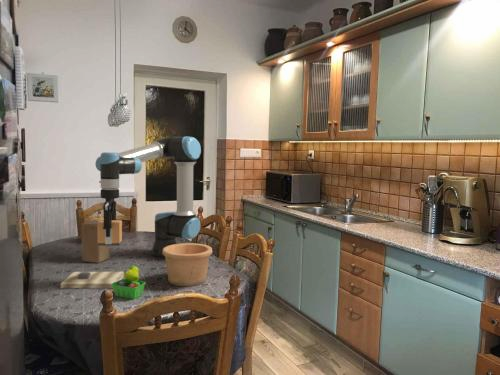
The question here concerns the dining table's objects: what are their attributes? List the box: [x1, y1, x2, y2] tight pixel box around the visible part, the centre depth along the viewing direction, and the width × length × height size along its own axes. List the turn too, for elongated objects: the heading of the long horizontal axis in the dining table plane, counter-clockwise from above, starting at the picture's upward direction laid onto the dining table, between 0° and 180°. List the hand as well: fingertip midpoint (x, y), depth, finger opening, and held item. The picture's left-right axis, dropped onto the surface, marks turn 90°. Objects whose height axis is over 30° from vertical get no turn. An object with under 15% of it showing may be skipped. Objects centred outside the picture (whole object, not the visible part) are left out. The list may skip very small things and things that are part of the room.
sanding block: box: [97, 219, 123, 247], centre depth 171 cm, size 9×5×10 cm, turn 96°
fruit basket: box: [112, 264, 147, 300], centre depth 158 cm, size 11×9×11 cm
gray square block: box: [78, 271, 91, 279], centre depth 172 cm, size 4×4×2 cm
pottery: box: [162, 242, 213, 287], centre depth 178 cm, size 22×22×14 cm
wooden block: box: [81, 220, 110, 264], centre depth 204 cm, size 10×10×20 cm
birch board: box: [60, 271, 125, 289], centre depth 173 cm, size 22×16×2 cm
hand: (110, 242), depth 172 cm, fingers closed on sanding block, 5 cm apart
